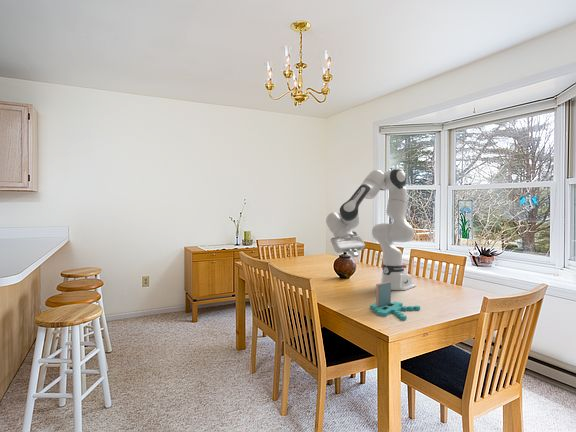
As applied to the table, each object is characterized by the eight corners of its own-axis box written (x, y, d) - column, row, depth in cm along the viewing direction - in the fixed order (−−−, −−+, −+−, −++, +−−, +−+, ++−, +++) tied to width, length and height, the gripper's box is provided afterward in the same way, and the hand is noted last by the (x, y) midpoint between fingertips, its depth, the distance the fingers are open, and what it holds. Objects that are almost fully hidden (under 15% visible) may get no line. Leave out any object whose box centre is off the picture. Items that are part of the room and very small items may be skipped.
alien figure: (420, 310, 175) (381, 303, 187) (420, 306, 175) (381, 299, 187) (404, 321, 159) (363, 313, 172) (404, 316, 159) (363, 308, 172)
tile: (388, 303, 180) (388, 281, 180) (390, 303, 179) (391, 282, 178) (376, 306, 175) (376, 284, 175) (378, 307, 174) (379, 284, 173)
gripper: (331, 234, 193) (344, 254, 185) (359, 232, 204) (372, 251, 196) (326, 241, 197) (338, 262, 189) (353, 239, 208) (366, 258, 200)
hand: (356, 256), depth 193 cm, fingers closed
